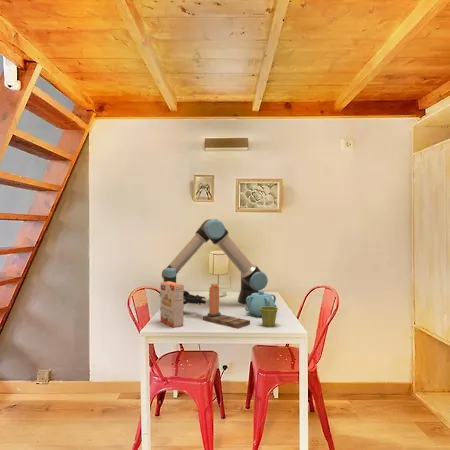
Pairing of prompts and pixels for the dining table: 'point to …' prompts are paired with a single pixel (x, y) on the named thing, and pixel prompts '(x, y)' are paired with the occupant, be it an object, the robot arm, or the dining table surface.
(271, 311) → the plant pot
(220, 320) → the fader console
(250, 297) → the decorative pot
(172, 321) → the cracker box
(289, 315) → the dining table surface
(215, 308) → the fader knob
